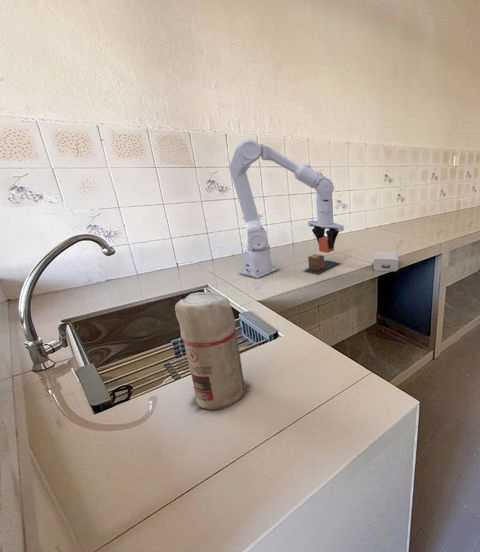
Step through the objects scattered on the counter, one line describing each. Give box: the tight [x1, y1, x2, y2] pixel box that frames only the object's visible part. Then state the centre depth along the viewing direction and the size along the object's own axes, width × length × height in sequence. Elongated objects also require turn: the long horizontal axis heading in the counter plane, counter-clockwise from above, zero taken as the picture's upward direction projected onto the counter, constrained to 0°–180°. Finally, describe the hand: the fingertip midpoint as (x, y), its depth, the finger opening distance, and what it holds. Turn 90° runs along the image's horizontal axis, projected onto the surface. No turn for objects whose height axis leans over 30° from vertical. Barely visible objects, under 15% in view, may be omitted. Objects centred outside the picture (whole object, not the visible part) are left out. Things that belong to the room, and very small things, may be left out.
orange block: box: [318, 235, 335, 254], centre depth 126 cm, size 5×4×5 cm
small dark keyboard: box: [304, 260, 340, 275], centre depth 126 cm, size 13×6×1 cm, turn 155°
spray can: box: [174, 291, 247, 410], centre depth 58 cm, size 8×8×20 cm
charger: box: [373, 251, 399, 272], centre depth 131 cm, size 5×9×15 cm
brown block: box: [307, 253, 325, 272], centre depth 122 cm, size 4×4×5 cm
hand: (326, 247), depth 126 cm, fingers closed on orange block, 4 cm apart
